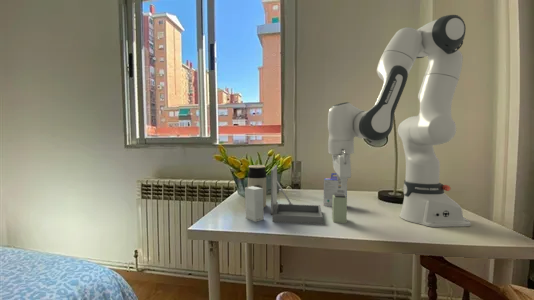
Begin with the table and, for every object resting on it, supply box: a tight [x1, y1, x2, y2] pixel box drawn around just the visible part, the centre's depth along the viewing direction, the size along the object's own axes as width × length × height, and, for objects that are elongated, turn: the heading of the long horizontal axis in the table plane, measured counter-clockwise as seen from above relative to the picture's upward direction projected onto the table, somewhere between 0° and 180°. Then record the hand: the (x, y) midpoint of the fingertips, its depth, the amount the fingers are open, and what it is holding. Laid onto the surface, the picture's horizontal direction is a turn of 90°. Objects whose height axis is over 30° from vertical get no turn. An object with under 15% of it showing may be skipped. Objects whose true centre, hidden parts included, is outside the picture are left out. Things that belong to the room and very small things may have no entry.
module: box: [331, 194, 348, 224], centre depth 99 cm, size 4×4×10 cm
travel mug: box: [247, 164, 267, 208], centre depth 119 cm, size 8×8×18 cm
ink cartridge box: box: [323, 172, 348, 207], centre depth 121 cm, size 10×6×14 cm, turn 75°
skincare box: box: [244, 186, 265, 222], centre depth 101 cm, size 6×4×12 cm
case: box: [270, 164, 324, 225], centre depth 104 cm, size 18×17×19 cm
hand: (341, 186), depth 99 cm, fingers open, 8 cm apart
